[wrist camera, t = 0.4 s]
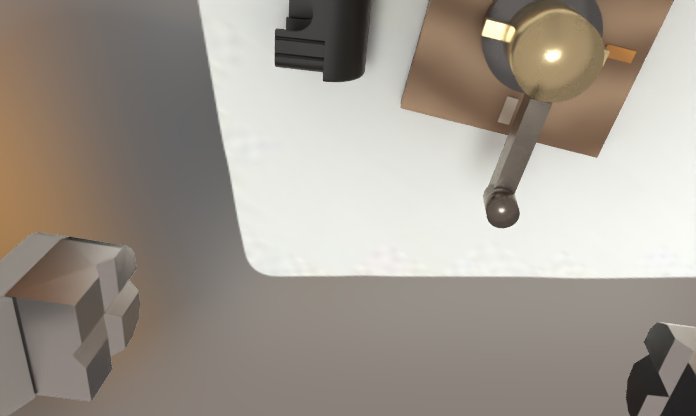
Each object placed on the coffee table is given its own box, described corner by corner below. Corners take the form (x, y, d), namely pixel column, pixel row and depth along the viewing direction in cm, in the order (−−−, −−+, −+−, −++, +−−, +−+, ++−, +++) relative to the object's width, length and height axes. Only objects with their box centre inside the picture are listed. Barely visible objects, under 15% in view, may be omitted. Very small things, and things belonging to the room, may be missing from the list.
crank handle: (496, -16, 44) (510, 4, 37) (619, 15, 44) (656, 42, 37) (434, 167, 52) (437, 212, 45) (539, 193, 52) (558, 242, 45)
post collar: (503, -40, 45) (506, -37, 43) (616, -11, 45) (623, -7, 44) (466, 71, 50) (467, 78, 48) (568, 97, 50) (574, 106, 48)
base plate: (463, -121, 45) (465, -120, 43) (691, -61, 45) (703, -59, 43) (401, 100, 54) (400, 108, 52) (591, 148, 54) (597, 158, 52)
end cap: (367, 62, 52) (361, 86, 47) (289, 54, 53) (272, 76, 47) (379, -60, 47) (373, -51, 42) (292, -68, 48) (274, -60, 42)
